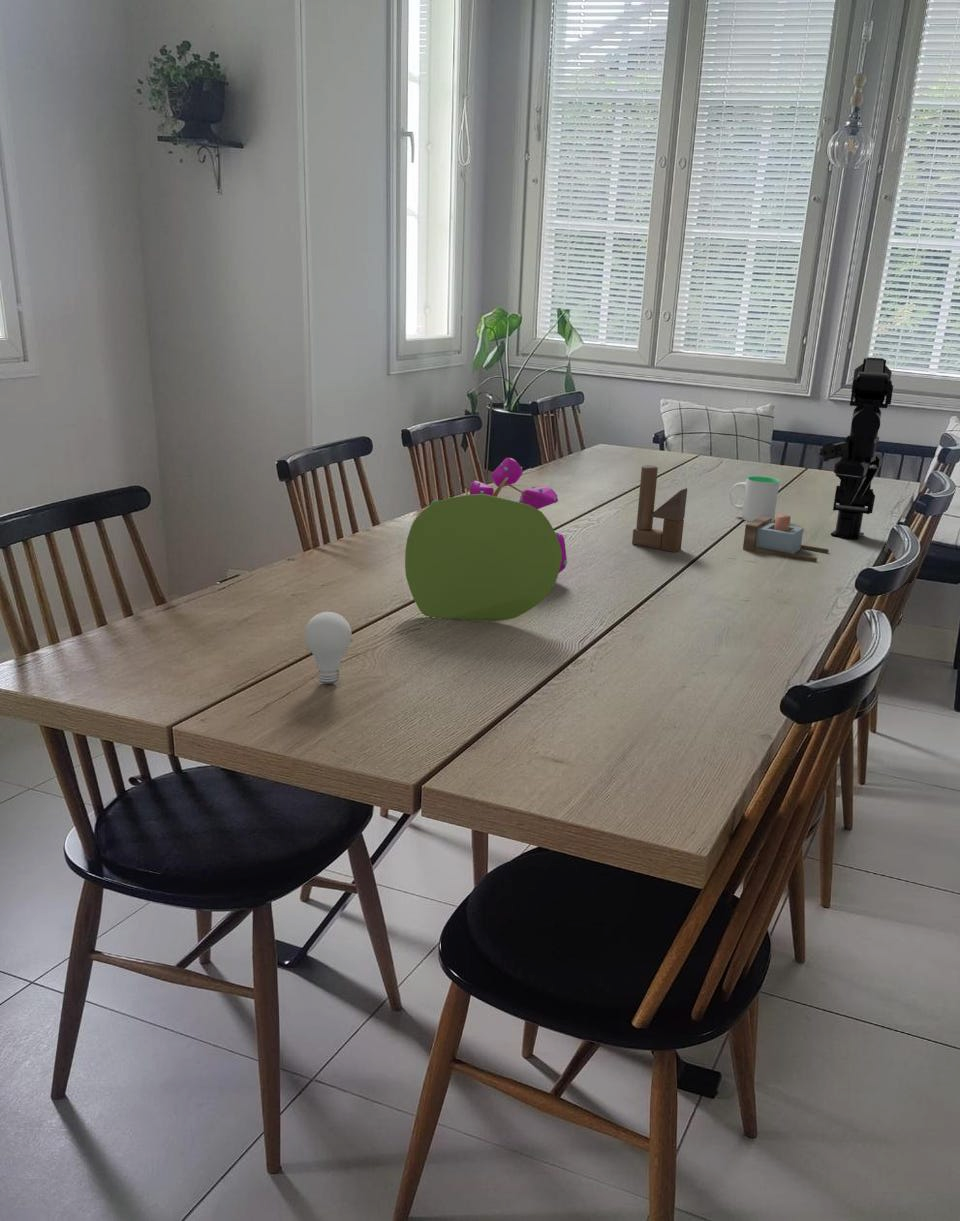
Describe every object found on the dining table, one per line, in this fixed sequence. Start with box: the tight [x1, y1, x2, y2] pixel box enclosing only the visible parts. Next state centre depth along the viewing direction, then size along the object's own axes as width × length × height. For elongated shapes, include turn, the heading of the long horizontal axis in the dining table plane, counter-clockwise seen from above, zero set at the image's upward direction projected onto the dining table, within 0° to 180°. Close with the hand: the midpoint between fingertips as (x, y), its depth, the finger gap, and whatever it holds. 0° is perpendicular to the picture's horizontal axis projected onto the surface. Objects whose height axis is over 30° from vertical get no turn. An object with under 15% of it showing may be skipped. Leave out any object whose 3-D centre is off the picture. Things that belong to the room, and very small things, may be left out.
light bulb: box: [304, 611, 352, 685], centre depth 145 cm, size 7×7×11 cm
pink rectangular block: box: [774, 514, 791, 532], centre depth 228 cm, size 3×3×7 cm
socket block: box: [756, 522, 805, 554], centre depth 229 cm, size 8×8×5 cm
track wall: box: [742, 516, 830, 563], centre depth 228 cm, size 11×16×6 cm
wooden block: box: [631, 464, 688, 553], centre depth 226 cm, size 4×11×18 cm, turn 56°
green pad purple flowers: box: [404, 457, 568, 622], centre depth 189 cm, size 30×28×35 cm
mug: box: [729, 475, 780, 523], centre depth 259 cm, size 12×8×10 cm
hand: (853, 501), depth 226 cm, fingers open, 9 cm apart
